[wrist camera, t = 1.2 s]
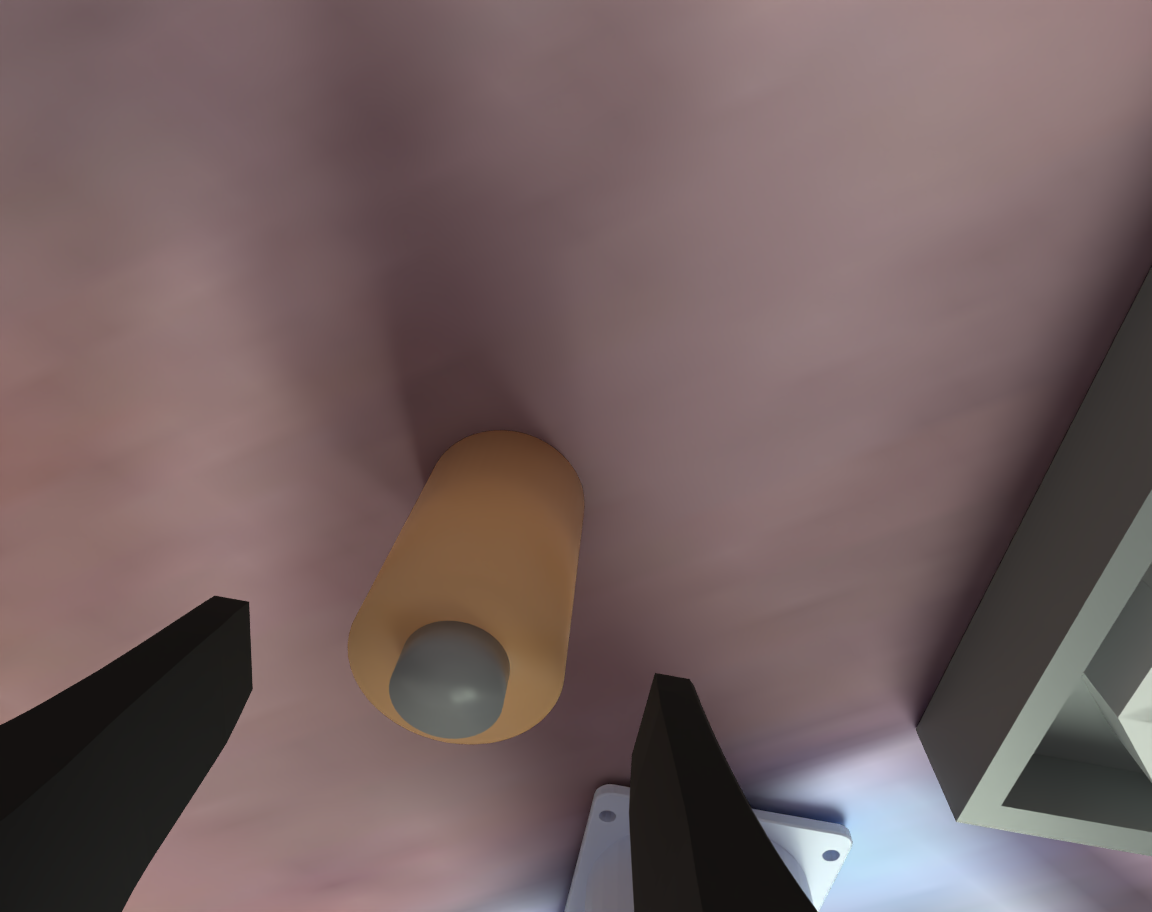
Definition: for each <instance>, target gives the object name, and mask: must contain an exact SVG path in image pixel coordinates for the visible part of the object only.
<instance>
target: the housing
mask: <svg viewBox="0 0 1152 912" xmlns="http://www.w3.org/2000/svg"><path fill="white" fill-rule="evenodd" d="M916 731H917V734H918V736H919V738H920V740H921V743H922V745H923V747H924V750H925V752H926V754H927V756H928V759H929V761H930V763H931V765H932V768H933V770H934V772H935V775H936V777H937V779H938V781H939V784H940V786H941V788H942V791H943V793H944V795H945V797H946V800H947V802H948V804H949V806H950V809H951V811H952V813H953V816H954V818H955V820H956V822H960V823H966V824H971V825H977V826H983V827H988V828H994V829H1000V830H1005V831H1011V832H1017V833H1022V834H1028V835H1034V836H1039V837H1045V838H1051V839H1056V840H1062V841H1068V842H1074V843H1079V844H1085V845H1091V846H1096V847H1102V848H1108V849H1113V850H1119V851H1125V852H1130V853H1136V854H1142V855H1147V856H1152V267H1151V269H1150V271H1149V273H1148V275H1147V277H1146V279H1145V281H1144V283H1143V285H1142V287H1141V289H1140V291H1139V293H1138V295H1137V296H1136V298H1135V300H1134V302H1133V304H1132V306H1131V308H1130V310H1129V312H1128V314H1127V316H1126V318H1125V320H1124V322H1123V324H1122V326H1121V328H1120V330H1119V332H1118V334H1117V336H1116V338H1115V340H1114V342H1113V344H1112V346H1111V348H1110V349H1109V351H1108V353H1107V355H1106V357H1105V359H1104V361H1103V363H1102V365H1101V367H1100V369H1099V371H1098V373H1097V375H1096V377H1095V379H1094V381H1093V383H1092V385H1091V387H1090V389H1089V391H1088V393H1087V395H1086V397H1085V399H1084V401H1083V402H1082V404H1081V406H1080V408H1079V410H1078V412H1077V414H1076V416H1075V418H1074V420H1073V422H1072V424H1071V426H1070V428H1069V430H1068V432H1067V434H1066V436H1065V438H1064V440H1063V442H1062V444H1061V446H1060V448H1059V450H1058V452H1057V453H1056V455H1055V457H1054V459H1053V461H1052V463H1051V465H1050V467H1049V469H1048V471H1047V473H1046V475H1045V477H1044V479H1043V481H1042V483H1041V485H1040V487H1039V489H1038V491H1037V493H1036V495H1035V497H1034V499H1033V501H1032V503H1031V505H1030V506H1029V508H1028V510H1027V512H1026V514H1025V516H1024V518H1023V520H1022V522H1021V524H1020V526H1019V528H1018V530H1017V532H1016V534H1015V536H1014V538H1013V540H1012V542H1011V544H1010V546H1009V548H1008V550H1007V552H1006V554H1005V556H1004V558H1003V559H1002V561H1001V563H1000V565H999V567H998V569H997V571H996V573H995V575H994V577H993V579H992V581H991V583H990V585H989V587H988V589H987V591H986V593H985V595H984V597H983V599H982V601H981V603H980V605H979V607H978V609H977V610H976V612H975V614H974V616H973V618H972V620H971V622H970V624H969V626H968V628H967V630H966V632H965V634H964V636H963V638H962V640H961V642H960V644H959V646H958V648H957V650H956V652H955V654H954V656H953V658H952V660H951V662H950V663H949V665H948V667H947V669H946V671H945V673H944V675H943V677H942V679H941V681H940V683H939V685H938V687H937V689H936V691H935V693H934V695H933V697H932V699H931V701H930V703H929V705H928V707H927V709H926V711H925V713H924V715H923V716H922V718H921V720H920V722H919V724H918V726H917V728H916Z"/></svg>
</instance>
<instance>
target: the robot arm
mask: <svg viewBox="0 0 1152 912" xmlns="http://www.w3.org/2000/svg"><path fill="white" fill-rule="evenodd" d="M252 689H253V688H252V663H251V639H250V614H249V602H247V601H242V600H236V599H230V598H225V597H219V596H213V597H212V598H210V599H209V600H207V601H205V602H204V603H202V604H201V605H199V606H198V607H196V608H195V609H193V610H192V611H190V612H188V613H187V614H185V615H184V616H182V617H181V618H179V619H178V620H176V621H175V622H173V623H172V624H170V625H169V626H167V627H166V628H164V629H163V630H161V631H159V632H158V633H156V634H155V635H153V636H152V637H150V638H149V639H147V640H146V641H144V642H143V643H141V644H140V645H138V646H136V647H135V648H133V649H132V650H130V651H129V652H127V653H125V654H124V655H122V656H121V657H119V658H117V659H116V660H114V661H113V662H111V663H110V664H108V665H106V666H105V667H103V668H102V669H100V670H98V671H97V672H95V673H93V674H92V675H90V676H88V677H86V678H85V679H83V680H81V681H80V682H78V683H76V684H74V685H73V686H71V687H69V688H68V689H66V690H64V691H62V692H61V693H59V694H57V695H56V696H54V697H52V698H50V699H49V700H47V701H45V702H43V703H42V704H40V705H38V706H36V707H34V708H33V709H31V710H29V711H27V712H25V713H23V714H21V715H19V716H17V717H16V718H14V719H12V720H10V721H8V722H6V723H4V724H2V725H0V912H122V910H123V908H124V907H125V905H126V903H127V901H128V899H129V897H130V895H131V893H132V891H133V890H134V888H135V886H136V885H137V883H138V881H139V880H140V878H141V876H142V875H143V873H144V871H145V870H146V868H147V866H148V864H149V863H150V861H151V860H152V858H153V857H154V855H155V854H156V852H157V850H158V849H159V847H160V846H161V844H162V843H163V841H164V840H165V838H166V837H167V835H168V833H169V832H170V830H171V829H172V827H173V826H174V824H175V823H176V821H177V820H178V818H179V817H180V815H181V813H182V812H183V810H184V809H185V807H186V806H187V804H188V803H189V801H190V800H191V798H192V796H193V795H194V793H195V792H196V790H197V789H198V787H199V786H200V784H201V783H202V781H203V779H204V778H205V776H206V775H207V773H208V772H209V770H210V768H211V767H212V765H213V764H214V762H215V761H216V759H217V757H218V756H219V754H220V753H221V751H222V749H223V748H224V746H225V745H226V743H227V741H228V739H229V737H230V735H231V733H232V731H233V729H234V727H235V725H236V723H237V721H238V719H239V717H240V715H241V713H242V710H243V708H244V706H245V704H246V702H247V700H248V698H249V696H250V693H251V691H252ZM852 843H853V841H852V838H851V834H850V832H849V829H847V828H846V827H845V826H843V825H840V824H836V823H830V822H825V821H819V820H813V819H808V818H802V817H796V816H791V815H785V814H779V813H774V812H768V811H762V810H757V809H752V808H751V807H750V805H749V803H748V801H747V799H746V797H745V796H744V794H743V792H742V790H741V788H740V786H739V784H738V782H737V780H736V778H735V776H734V774H733V772H732V770H731V768H730V766H729V764H728V763H727V761H726V759H725V756H724V754H723V752H722V750H721V748H720V746H719V744H718V742H717V739H716V737H715V735H714V733H713V731H712V728H711V726H710V724H709V722H708V719H707V717H706V715H705V712H704V710H703V707H702V705H701V703H700V700H699V698H698V695H697V693H696V690H695V687H694V685H693V684H692V682H691V681H690V679H686V678H680V677H674V676H669V675H663V674H657V673H655V675H654V679H653V682H652V686H651V690H650V693H649V697H648V700H647V704H646V707H645V711H644V714H643V718H642V721H641V725H640V729H639V732H638V736H637V739H636V743H635V746H634V750H633V753H632V763H631V780H630V787H626V786H620V785H614V784H606V785H603V786H601V787H599V788H598V789H597V790H596V792H595V794H594V798H593V802H592V806H591V809H590V813H589V817H588V821H587V825H586V829H585V833H584V837H583V841H582V844H581V848H580V852H579V856H578V860H577V864H576V868H575V872H574V875H573V879H572V883H571V887H570V891H569V895H568V899H567V903H566V906H565V910H564V912H819V911H820V909H821V907H822V905H823V903H824V901H825V899H826V897H827V895H828V893H829V891H830V889H831V887H832V885H833V883H834V881H835V879H836V877H837V875H838V873H839V871H840V869H841V867H842V865H843V863H844V861H845V859H846V857H847V855H848V853H849V851H850V849H851V847H852Z"/></svg>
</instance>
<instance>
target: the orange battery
mask: <svg viewBox="0 0 1152 912" xmlns="http://www.w3.org/2000/svg"><path fill="white" fill-rule="evenodd" d="M584 507H585V506H584V494H583V489H582V486H581V483H580V480H579V478H578V476H577V474H576V472H575V470H574V469H573V467H572V466H571V464H570V463H569V462H568V461H567V460H566V458H565V457H564V456H563V455H562V454H561V453H559V452H558V451H557V450H556V449H555V448H553V447H552V446H550V445H549V444H547V443H546V442H544V441H542V440H540V439H538V438H536V437H533V436H530V435H528V434H524V433H520V432H515V431H507V430H494V431H485V432H481V433H477V434H474V435H471V436H469V437H466V438H464V439H462V440H460V441H459V442H457V443H455V444H454V445H453V446H452V447H450V448H449V449H448V450H447V451H446V452H445V453H444V454H443V455H442V456H441V458H440V459H439V461H438V462H437V464H436V465H435V467H434V469H433V471H432V473H431V475H430V477H429V479H428V481H427V483H426V484H425V486H424V488H423V490H422V492H421V494H420V496H419V498H418V500H417V501H416V503H415V505H414V507H413V509H412V511H411V513H410V515H409V517H408V519H407V520H406V522H405V524H404V526H403V528H402V530H401V532H400V534H399V536H398V538H397V539H396V541H395V543H394V545H393V547H392V549H391V551H390V553H389V555H388V557H387V558H386V560H385V562H384V564H383V566H382V568H381V570H380V572H379V574H378V576H377V577H376V579H375V581H374V583H373V585H372V587H371V589H370V591H369V593H368V595H367V596H366V598H365V600H364V602H363V604H362V606H361V608H360V610H359V612H358V614H357V615H356V617H355V619H354V621H353V623H352V626H351V630H350V633H349V639H348V658H349V663H350V667H351V670H352V673H353V675H354V678H355V680H356V682H357V684H358V685H359V687H360V689H361V690H362V692H363V693H364V695H365V696H366V697H367V699H368V700H369V701H370V702H371V703H372V704H373V705H374V706H375V707H376V708H377V709H378V710H379V711H380V712H382V713H383V714H384V715H385V716H386V717H388V718H389V719H391V720H392V721H394V722H395V723H396V724H398V725H400V726H402V727H404V728H406V729H407V730H409V731H412V732H414V733H416V734H419V735H421V736H424V737H427V738H430V739H434V740H438V741H443V742H448V743H455V744H486V743H492V742H498V741H502V740H505V739H509V738H512V737H514V736H517V735H519V734H522V733H523V732H525V731H527V730H529V729H531V728H532V727H534V726H535V725H536V724H538V723H539V722H540V721H541V720H542V719H543V718H544V717H545V716H546V715H547V714H548V713H549V712H550V711H551V709H552V708H553V707H554V705H555V704H556V702H557V700H558V698H559V696H560V694H561V691H562V687H563V684H564V676H565V668H566V659H567V651H568V643H569V634H570V626H571V617H572V609H573V600H574V592H575V583H576V575H577V567H578V558H579V550H580V541H581V533H582V524H583V516H584Z"/></svg>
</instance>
